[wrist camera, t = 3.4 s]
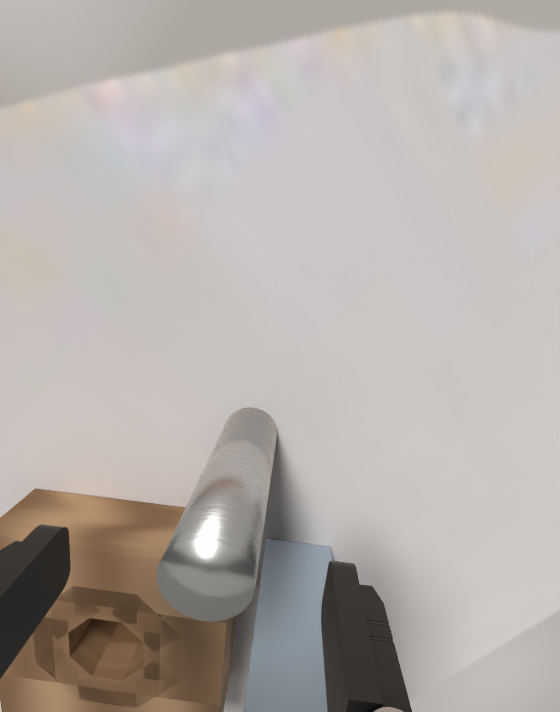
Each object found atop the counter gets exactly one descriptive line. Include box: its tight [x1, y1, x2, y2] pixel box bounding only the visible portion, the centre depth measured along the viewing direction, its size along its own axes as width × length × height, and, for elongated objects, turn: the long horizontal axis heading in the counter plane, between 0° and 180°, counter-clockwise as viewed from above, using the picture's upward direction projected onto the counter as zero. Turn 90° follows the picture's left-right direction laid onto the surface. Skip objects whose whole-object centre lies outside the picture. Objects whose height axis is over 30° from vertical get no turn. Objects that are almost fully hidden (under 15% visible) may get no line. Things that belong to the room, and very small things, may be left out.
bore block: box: [0, 489, 235, 712], centre depth 22 cm, size 13×13×4 cm
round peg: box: [157, 408, 277, 622], centre depth 16 cm, size 3×3×10 cm
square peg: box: [243, 539, 332, 712], centre depth 18 cm, size 4×4×10 cm
